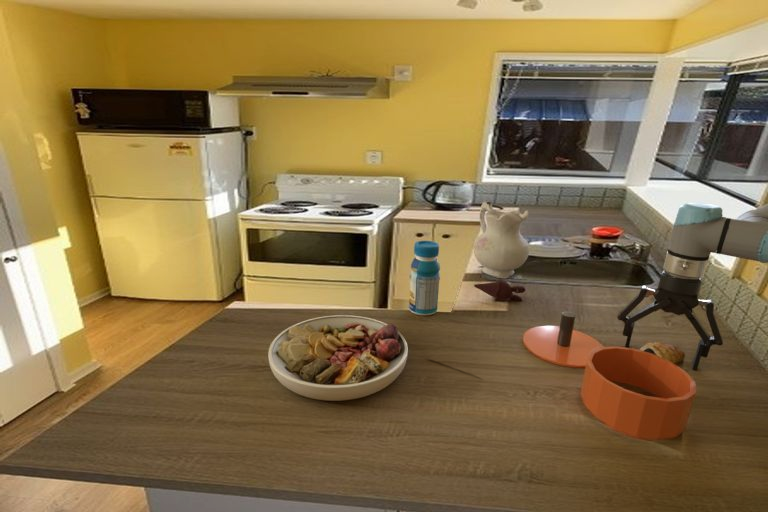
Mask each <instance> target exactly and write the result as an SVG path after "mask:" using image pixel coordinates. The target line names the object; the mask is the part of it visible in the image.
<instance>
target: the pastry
mask: <svg viewBox="0 0 768 512" xmlns="http://www.w3.org/2000/svg"><path fill="white" fill-rule="evenodd" d="M639 350H641V351H645V352H648V353H652V354H655V355H657V356H659V357H661V358H664V359H666V360H668V361H670V362H672V363H674V364H675V365H677V364H678V363H680V362H683V361H684V358H685V357H686V353H685V351H684V350H682V349H681V348H680V347H678V346H676V345H675V344H673V345H672V344H670V343H665V342H659V341H654V342H647V343H645V344H644V345H643V346H642V347H640V348H639Z"/></svg>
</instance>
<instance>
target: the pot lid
mask: <svg viewBox="0 0 768 512" xmlns="http://www.w3.org/2000/svg"><path fill="white" fill-rule="evenodd" d="M576 316H577V315H576V314H575V313H574V312H572V311H563V312H561V317H560V323H559V326H557V325H540V326H534V327H531V328H529V329H527V330H526V331H525V332H524V334H523V337H522V342H523V345H524V346H525V348H526V349H527V350H528V351H529V352H530V353H532V354H533V355H534V356H536V357H538V358H539V359H541V360H544V361H546V362H549V363H552V364H555V365H558V366H562V367H568V368H574V369H575V368H576V369H585V367H586V362H587V359H588V356H589V354H590V352H592V351H594V350H596V349H598V348H600V347H604V345H603V344H601V342H599V341H598V340H597V339H595V338H594V337H592V336H591V335H588V334H586V333H584V332H581V331H579V330H576V329H574V327H575V321H576Z"/></svg>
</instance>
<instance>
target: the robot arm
mask: <svg viewBox="0 0 768 512" xmlns="http://www.w3.org/2000/svg"><path fill="white" fill-rule="evenodd" d="M712 253H713V254H718V255H724V256H728V257H734V258H739V259H745V260H750V261H755V262H759V263H762V264H768V203H765V204H763V205H762V206H760V207H758V208H756V209H751V210H748V211H745V212H743V213H742V214H740V215H739V216H738V217H737V218H731V217H726V216H723V208H722V207H721V206H718V205H714V204H709V203H703V202H686V203H683V204H682V205H680V206H679V208H678V211H677V214H676V217H675V220H674V223H673V226H672V231H671V234H670V238H669V242H668V247H667V250H666V254H665V259H664V262H663V266H662V269H663V270H662V272H661V273H660V276H659V277H660V278H659V282H658V286H657V288H656V289H653V288H649V287H648V286H647V285H642V286H641V288H640V290H639V293H638V294H637V295H636V296H635V297H633V299H632V300H631V301H630V302H628V303H627V305H625V307H623V308H622V309H621V311H619V312H618V314H617V320H618V321H621V322H623V323H624V325H623V330H622V336H623V337H627V338H626V341H625V346H624V347H625V348H630V344H631V340H632V335H633V333H634V328H635V324H636V322H637V321H640V320H642V319H643V318H645V317H647V316H649V315H651V314H652V313H656V312H657V311H660V310H662V311H663V312H664V313H668V314H669V313H671V314H674V315H677V316H681V315H684V316H685V317H686V319H687V320H688V321H689V323H691V325H692V327H693V328H694V330H695V331H696V332H697V334H698V336H699V337H700V338H701V339H699V341H698V344H697V348H696V350H695V354H694V357H693V361H692V366H691V367H692V370H693V371H697V370H698V367H699V365H700V361H701V358H705V359H706V358H707V357H708V355H709V352H710V349H711V347H713V346H715V345H716V346H723V344H724V342H723V341H724V340H723V336H722V333H721V330H720V328H719V324H718V321H717V318H716V315H715V312H714V308H715V302H714V300H713V299H712V298H708V299H707V300H706V299H699V294H700V291H701V287H702V284H703V279H702V278H703V277H704V276H705V273H706V269H707V266H708V262H709V259H710V255H711V254H712ZM651 296H653V298H654V299H655V300H654V301H653V302H651V303H650V304H648V305H646V306H644V307H643V308H641V309H639V310H637V311H636V312H633V313H632V314H630V313H631V312H632V311H634V310H635V308H637V307H638V305H639V304H641V303H642V302H643V301H644V299H645V298H649V297H651ZM698 306H700V307H701V310H703V311H704V312H705V314H706V317H707V320H708V323H709V327H710V331H711V333H712V335H713V336H710V334H709V333H708V331H707V330H706V328H705V327H704V325H703V323H702V322H701V321H700V320H699V318H698V316H697V315H696V313H695V312H694V310H693V309H695V308H696V307H698ZM629 314H630V315H629Z"/></svg>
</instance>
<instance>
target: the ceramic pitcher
mask: <svg viewBox="0 0 768 512" xmlns="http://www.w3.org/2000/svg"><path fill="white" fill-rule="evenodd" d="M492 203H493V201H492V200H487V199H484V200H483V201H482V204H481V206H480V210H479V223H480V228H481V231H482V233H481V234H480V235H478V236H477V237H475V239H474V242H473V254H474V257H475V259H476V261H477V262H478V263H479V264H480V265H481V266H483V267H482V268H481V270H480V271H481V273H483V274H486V275H489V276H491V277H493V278H497V279H508V278H510V277H511V276H513V275H515V270H517V269H519V268H520V267H522V266H523V265H524V264H525V262H526V261H527V260H528V258H529V255H530V250H531V249H530V248H531V247H530V243H529V242H528V241H527V239H525V238H524V237H523V236H522V234H521V227H522V224H523V223H524V222H525V221H526V220H527V219H528V217H529V210H525V211H524V213H521V212H520V211H519V210H518V211H517V210H511V211H506V212H504V211H500V210H495V209H494V208H493V204H492Z"/></svg>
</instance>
